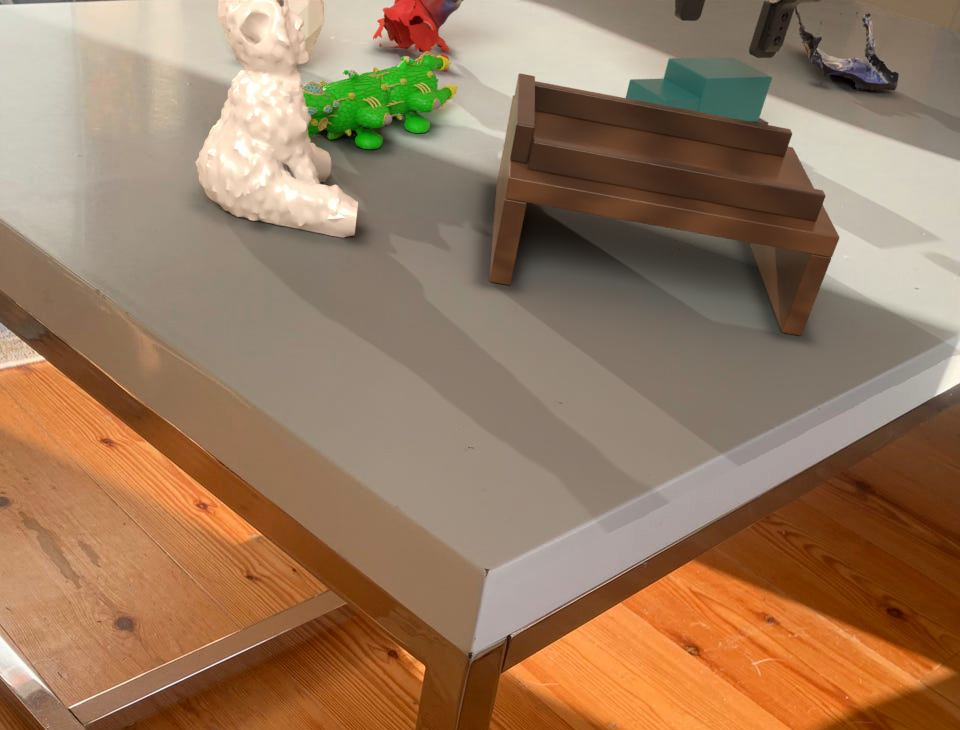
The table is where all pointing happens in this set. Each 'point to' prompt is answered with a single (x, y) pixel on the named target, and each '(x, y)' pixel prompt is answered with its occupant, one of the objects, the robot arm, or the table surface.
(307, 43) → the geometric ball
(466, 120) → the table surface
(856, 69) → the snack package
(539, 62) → the table surface
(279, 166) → the white creature statuette
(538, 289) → the table surface
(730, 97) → the teal stepped block
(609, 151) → the shoe shelf
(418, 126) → the crocodile figurine
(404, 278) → the table surface
